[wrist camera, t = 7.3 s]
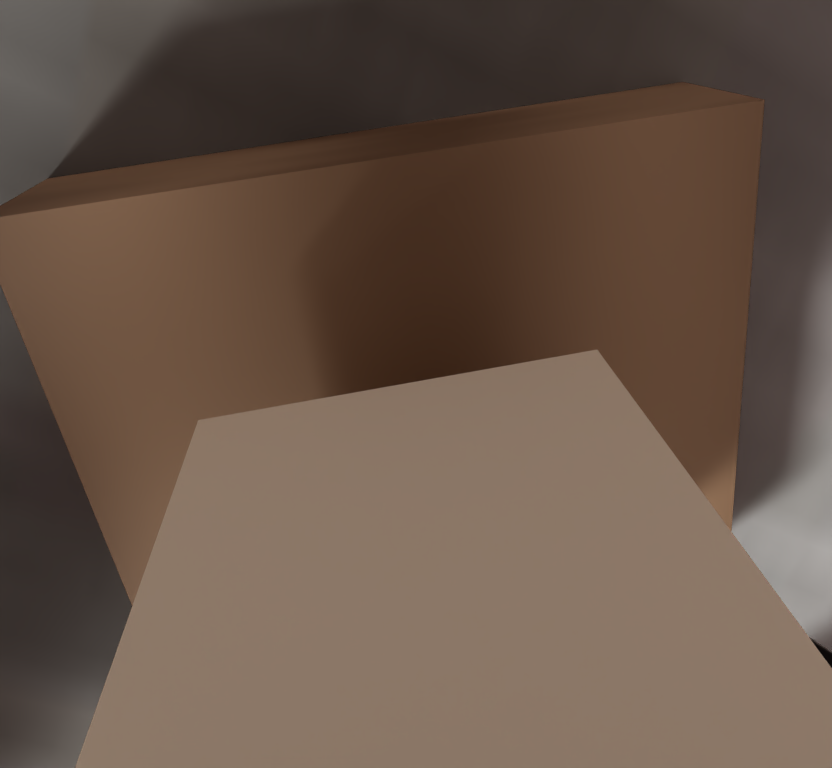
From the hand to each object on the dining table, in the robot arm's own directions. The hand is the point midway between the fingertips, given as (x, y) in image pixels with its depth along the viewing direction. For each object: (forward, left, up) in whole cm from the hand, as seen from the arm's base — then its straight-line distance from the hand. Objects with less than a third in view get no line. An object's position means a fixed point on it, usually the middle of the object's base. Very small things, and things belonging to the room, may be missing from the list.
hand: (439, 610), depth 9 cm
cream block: (0, 0, -1) cm, 1 cm away
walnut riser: (0, 0, -6) cm, 6 cm away
